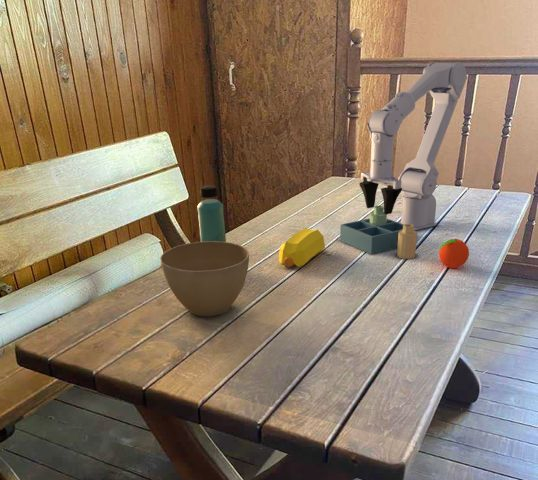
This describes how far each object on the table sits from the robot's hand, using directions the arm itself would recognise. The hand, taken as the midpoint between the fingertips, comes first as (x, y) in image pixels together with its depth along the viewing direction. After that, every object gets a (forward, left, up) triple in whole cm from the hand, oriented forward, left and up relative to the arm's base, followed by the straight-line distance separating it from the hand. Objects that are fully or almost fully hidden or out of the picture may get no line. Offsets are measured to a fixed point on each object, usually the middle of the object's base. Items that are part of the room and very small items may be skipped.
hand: (379, 210), depth 160 cm
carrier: (+3, +3, -8) cm, 9 cm away
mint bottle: (0, 0, -7) cm, 7 cm away
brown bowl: (+60, +18, -8) cm, 63 cm away
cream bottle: (+4, +16, -8) cm, 18 cm away
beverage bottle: (+48, -5, -8) cm, 49 cm away
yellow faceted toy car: (+27, +3, -8) cm, 28 cm away
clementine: (+1, +29, -8) cm, 30 cm away
